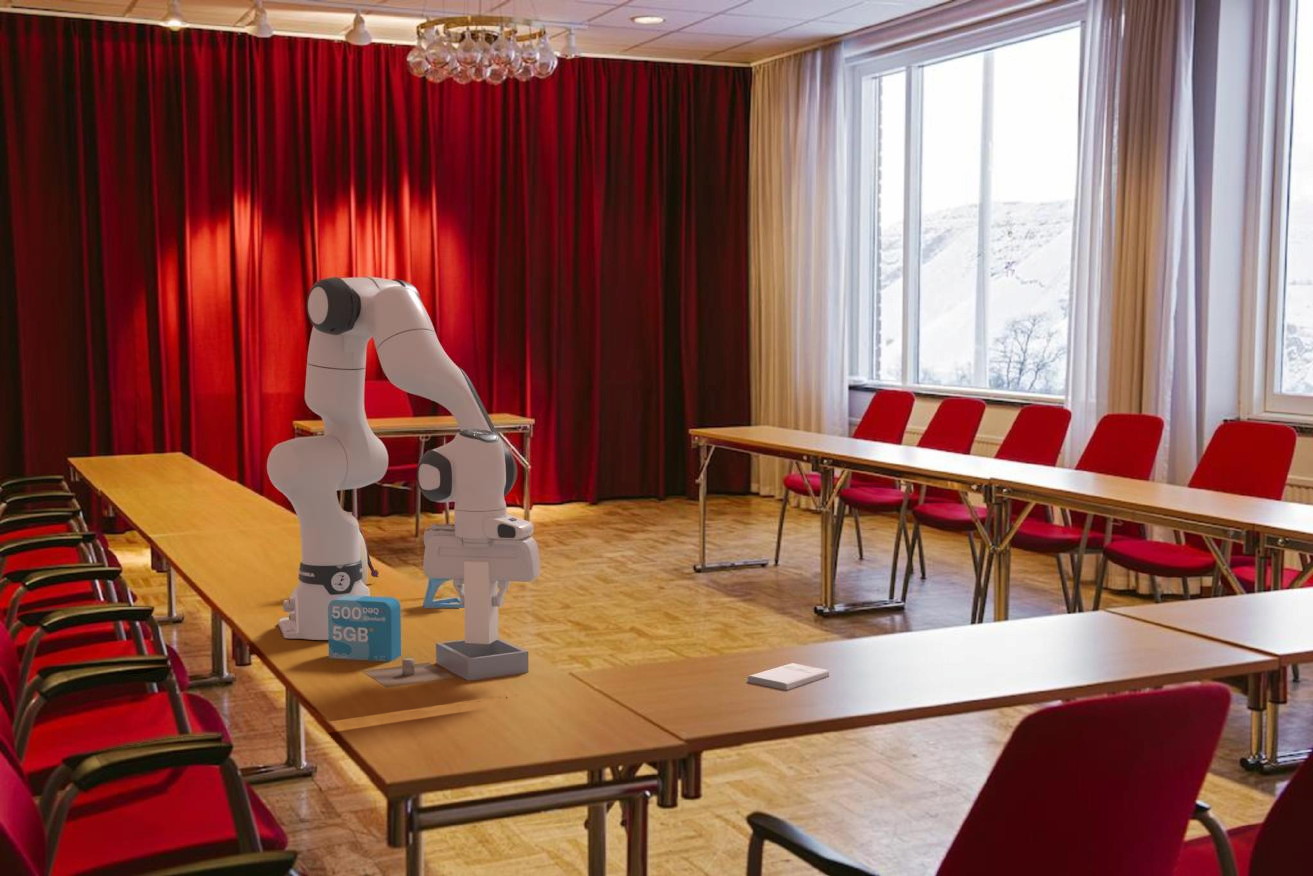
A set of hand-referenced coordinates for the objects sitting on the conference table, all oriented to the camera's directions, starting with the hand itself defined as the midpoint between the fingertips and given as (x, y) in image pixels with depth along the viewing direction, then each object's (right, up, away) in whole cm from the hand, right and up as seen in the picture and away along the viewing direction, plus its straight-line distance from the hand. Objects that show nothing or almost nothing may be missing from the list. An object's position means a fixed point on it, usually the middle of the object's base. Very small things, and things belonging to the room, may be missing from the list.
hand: (481, 605), depth 232 cm
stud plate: (-12, -13, -4) cm, 18 cm away
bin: (0, -12, +1) cm, 12 cm away
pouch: (-41, -7, +77) cm, 87 cm away
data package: (-22, -12, +9) cm, 26 cm away
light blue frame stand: (-16, -8, +61) cm, 64 cm away
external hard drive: (+52, -13, -1) cm, 54 cm away
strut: (0, -6, 0) cm, 6 cm away
